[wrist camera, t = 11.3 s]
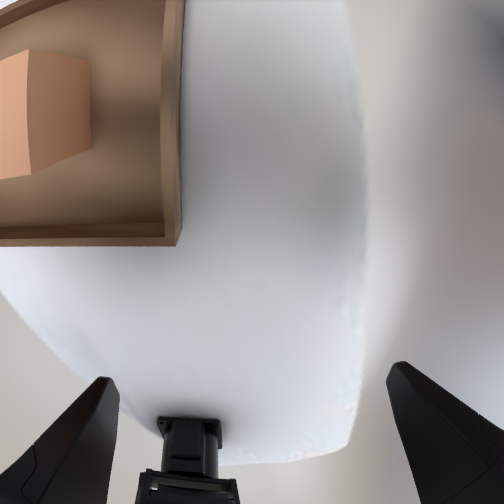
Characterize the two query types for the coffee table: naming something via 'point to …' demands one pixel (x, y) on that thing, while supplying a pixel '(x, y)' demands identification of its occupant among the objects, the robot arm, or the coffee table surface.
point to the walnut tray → (104, 126)
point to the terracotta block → (42, 111)
